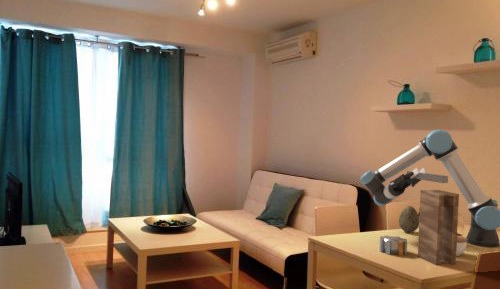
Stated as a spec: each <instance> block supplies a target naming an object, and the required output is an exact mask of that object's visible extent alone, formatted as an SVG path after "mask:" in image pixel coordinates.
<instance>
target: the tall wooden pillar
mask: <svg viewBox="0 0 500 289" xmlns="http://www.w3.org/2000/svg"><path fill="white" fill-rule="evenodd" d="M459 199H460V194H459V193H455V192H452V191H451V192H450V191H445V190H440V189H436V190H435V189H428V190H427V189H425V190H423V189H422V190H420V195H419V209H420V214H419V226H418V237H417V238H418V241H417V242H418V243H417V258H419V259H422V260H424V261H426V262H428V263H431V264H433V265H436V266H441V265H442V262H444V263H445V262H446V263H447V264H449V265H456V264H457V256H456V249H457V236H458V227H459V226H458V224H459V223H458V222H459V201H460V200H459Z"/></svg>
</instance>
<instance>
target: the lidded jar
mask: <svg viewBox="0 0 500 289" xmlns="http://www.w3.org/2000/svg"><path fill="white" fill-rule="evenodd" d="M467 244H468V242H467V238H466V236H462V235H457V249H456V257H460V256H461V255H462V254H463V253H464V252H465V251H466V249H467Z"/></svg>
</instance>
